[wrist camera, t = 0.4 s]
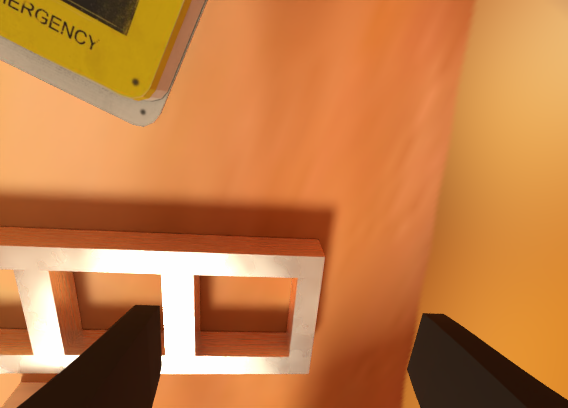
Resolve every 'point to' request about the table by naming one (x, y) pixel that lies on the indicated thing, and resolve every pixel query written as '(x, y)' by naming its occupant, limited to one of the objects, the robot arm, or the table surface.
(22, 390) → the birch peg
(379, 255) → the table surface
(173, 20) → the emergency button
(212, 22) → the table surface
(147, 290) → the table surface
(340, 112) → the table surface
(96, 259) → the tan slotted board
